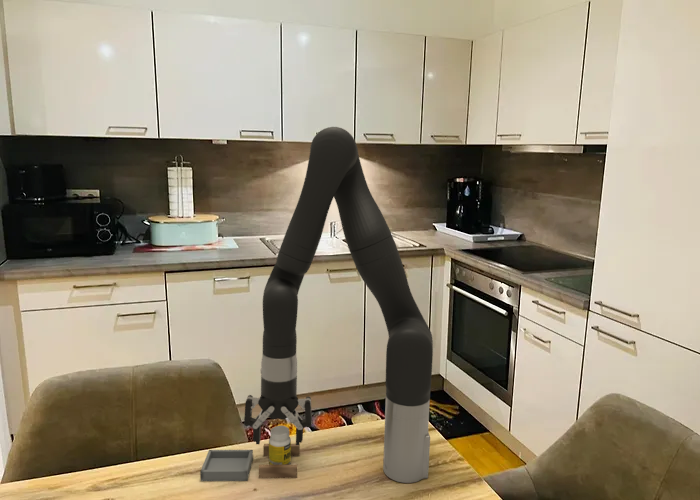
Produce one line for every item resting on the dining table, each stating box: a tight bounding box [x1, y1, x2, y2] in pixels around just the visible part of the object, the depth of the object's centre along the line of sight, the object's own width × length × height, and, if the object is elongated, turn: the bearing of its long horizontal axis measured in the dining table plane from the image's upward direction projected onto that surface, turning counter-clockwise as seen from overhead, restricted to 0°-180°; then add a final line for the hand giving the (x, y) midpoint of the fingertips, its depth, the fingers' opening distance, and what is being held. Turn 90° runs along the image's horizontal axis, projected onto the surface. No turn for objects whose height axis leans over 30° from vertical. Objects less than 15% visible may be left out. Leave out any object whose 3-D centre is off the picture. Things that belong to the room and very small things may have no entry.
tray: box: [199, 449, 254, 482], centre depth 112 cm, size 10×8×2 cm
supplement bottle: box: [268, 425, 292, 465], centre depth 113 cm, size 5×5×8 cm
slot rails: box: [258, 443, 301, 479], centre depth 113 cm, size 8×9×2 cm
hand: (277, 442), depth 113 cm, fingers open, 8 cm apart
